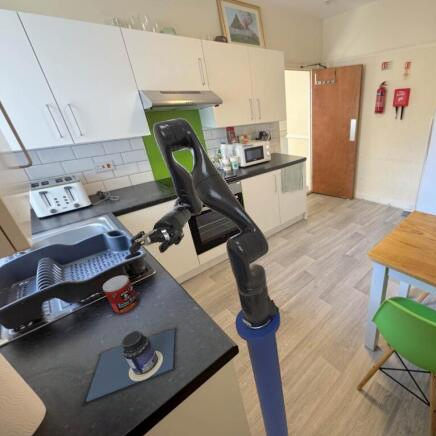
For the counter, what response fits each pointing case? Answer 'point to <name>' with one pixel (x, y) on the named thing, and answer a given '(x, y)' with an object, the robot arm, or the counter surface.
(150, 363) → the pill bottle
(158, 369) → the placemat
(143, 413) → the counter surface
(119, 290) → the canned food
